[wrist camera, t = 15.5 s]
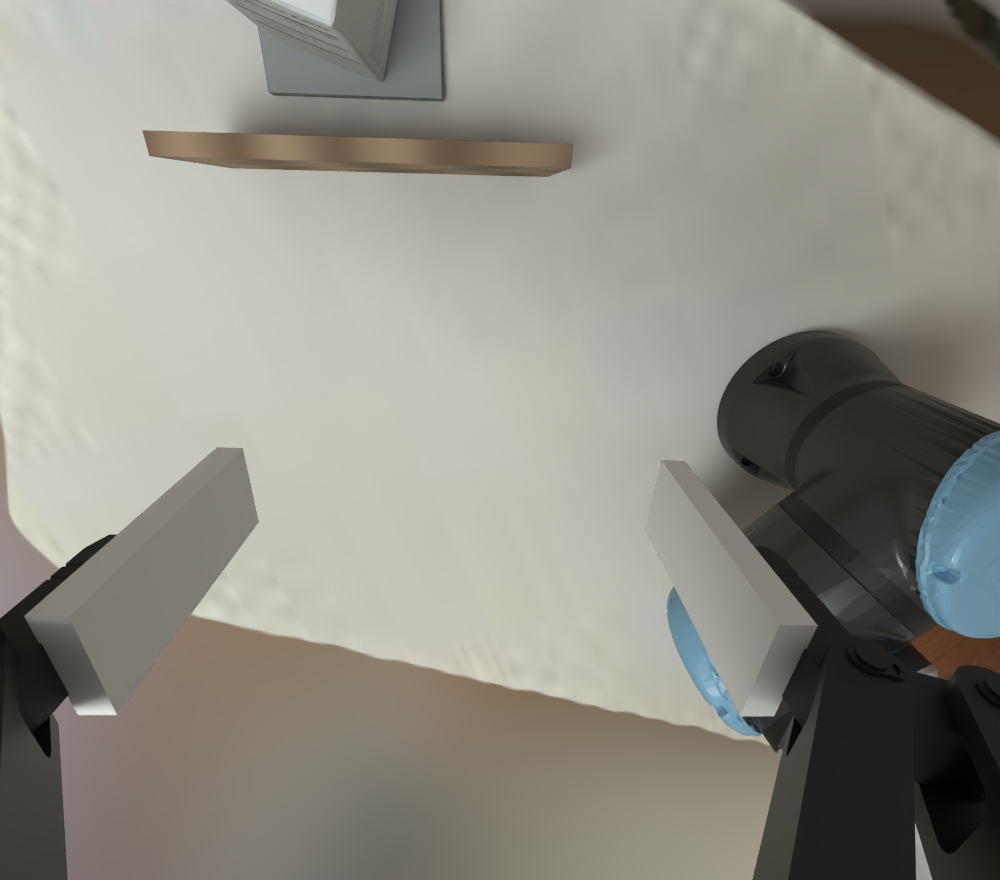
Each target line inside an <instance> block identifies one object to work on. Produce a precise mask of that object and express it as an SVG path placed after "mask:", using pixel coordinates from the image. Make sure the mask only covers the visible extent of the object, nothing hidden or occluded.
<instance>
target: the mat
mask: <svg viewBox="0 0 1000 880" xmlns="http://www.w3.org/2000/svg"><path fill="white" fill-rule="evenodd" d="M258 31H259V37H260V43H261V49H262V55H263V61H264V67H265V73H266V79H267V85H268V91H269V93H271V94H273V95H278V96H306V97H334V98H362V99H390V100H418V101H443V95H442V60H441V25H440V0H397V6H396V11H395V17H394V23H393V29H392V35H391V40H390V46H389V52H388V57H387V63H386V68H385V73H384V78H383V82H379V81H376V80H374V79H371V78H368V77H366V76H363V75H361V74H358V73H356V72H353V71H351V70H348V69H346V68H343V67H341V66H338V65H336V64H333V63H331V62H328V61H326V60H323V59H321V58H318V57H316V56H313V55H310V54H308V53H305V52H303V51H300V50H298V49H295V48H293V47H290V46H287V45H285V44H282V43H279V42H277V41H276V40H274V39H273V38H272V37H270V36H269V35H268V34H267V33H266V32H264V31H263V30H262V29H261V28H260V27H258Z"/></svg>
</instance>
